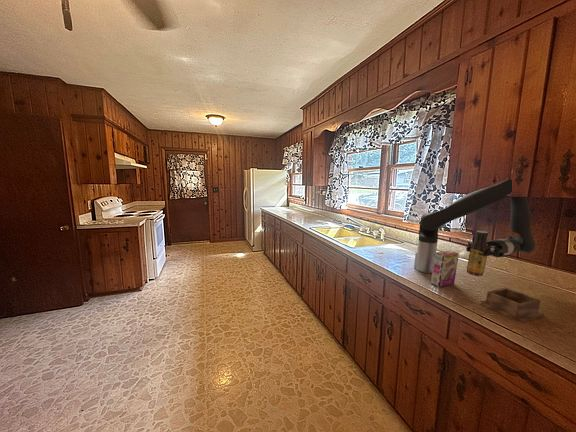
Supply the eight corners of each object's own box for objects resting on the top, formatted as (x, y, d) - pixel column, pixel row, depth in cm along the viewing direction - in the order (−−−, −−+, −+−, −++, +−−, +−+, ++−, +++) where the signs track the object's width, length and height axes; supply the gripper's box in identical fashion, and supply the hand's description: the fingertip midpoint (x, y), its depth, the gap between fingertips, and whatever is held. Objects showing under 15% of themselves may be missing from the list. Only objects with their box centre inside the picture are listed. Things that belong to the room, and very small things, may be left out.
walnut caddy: (480, 303, 101) (482, 290, 100) (500, 298, 106) (503, 285, 105) (522, 322, 88) (525, 307, 87) (543, 315, 93) (546, 301, 92)
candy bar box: (439, 287, 115) (443, 255, 112) (430, 283, 120) (433, 252, 117) (455, 284, 119) (459, 252, 116) (445, 280, 124) (449, 249, 121)
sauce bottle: (463, 272, 109) (468, 230, 106) (471, 270, 112) (477, 229, 109) (479, 278, 104) (485, 233, 100) (487, 275, 106) (493, 232, 103)
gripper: (482, 236, 117) (459, 239, 111) (519, 244, 104) (495, 248, 98) (480, 250, 118) (457, 254, 112) (516, 260, 105) (492, 265, 99)
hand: (475, 251), depth 105 cm, fingers closed on sauce bottle, 6 cm apart
